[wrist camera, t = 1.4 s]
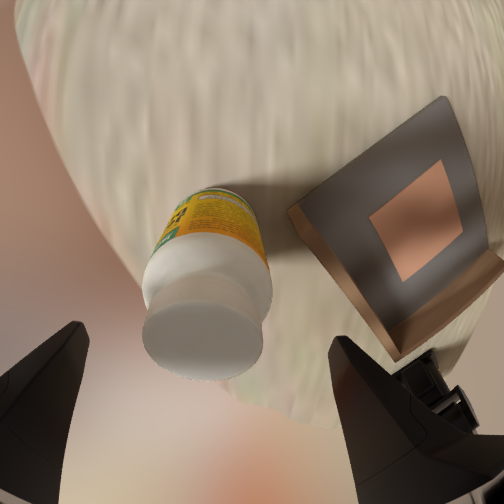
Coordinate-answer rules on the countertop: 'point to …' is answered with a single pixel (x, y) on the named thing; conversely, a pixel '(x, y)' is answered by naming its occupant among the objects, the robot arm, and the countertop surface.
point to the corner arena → (404, 230)
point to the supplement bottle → (207, 289)
